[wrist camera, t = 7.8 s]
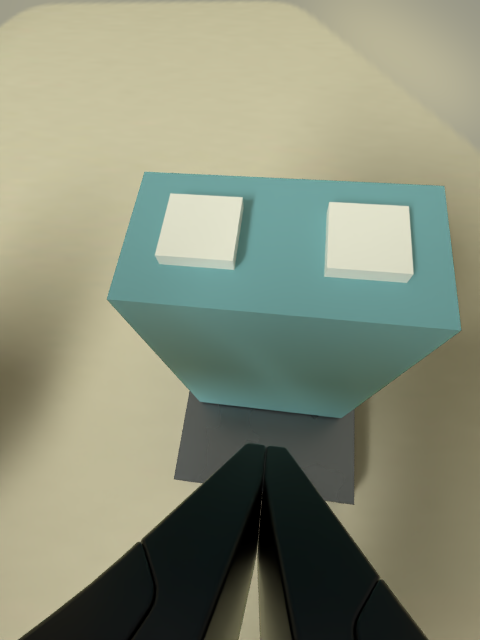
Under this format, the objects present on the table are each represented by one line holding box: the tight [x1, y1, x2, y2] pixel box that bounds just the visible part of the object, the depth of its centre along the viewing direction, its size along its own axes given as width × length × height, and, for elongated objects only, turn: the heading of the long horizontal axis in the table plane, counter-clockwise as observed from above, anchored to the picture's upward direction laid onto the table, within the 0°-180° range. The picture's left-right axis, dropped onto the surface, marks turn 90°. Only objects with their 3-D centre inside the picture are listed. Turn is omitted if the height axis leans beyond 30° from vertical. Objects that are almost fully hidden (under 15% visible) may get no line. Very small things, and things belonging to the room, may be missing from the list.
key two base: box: [174, 391, 354, 505], centre depth 15 cm, size 8×7×4 cm
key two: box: [107, 172, 461, 418], centre depth 11 cm, size 3×6×10 cm, turn 83°
